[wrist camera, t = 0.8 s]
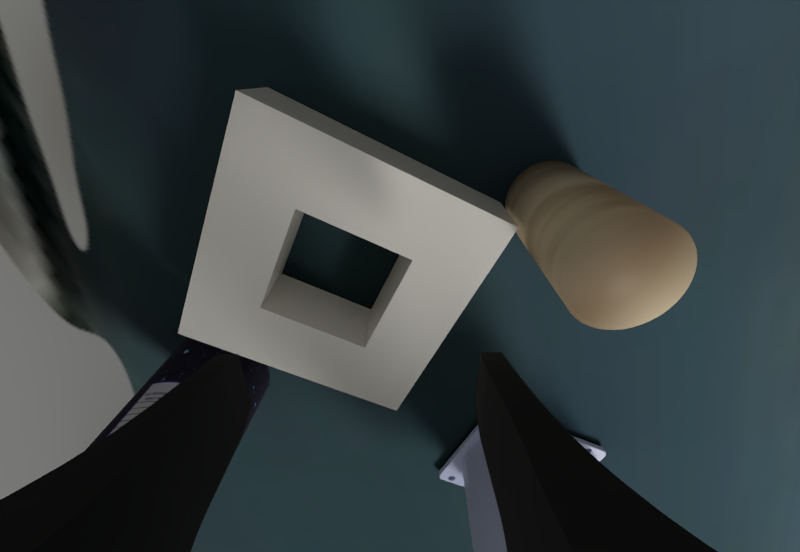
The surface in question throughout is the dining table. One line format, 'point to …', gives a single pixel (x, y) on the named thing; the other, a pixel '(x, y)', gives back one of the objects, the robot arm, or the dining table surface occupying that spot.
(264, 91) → the socket block
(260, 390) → the beverage can
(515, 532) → the robot arm
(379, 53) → the dining table surface
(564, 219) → the beech peg
